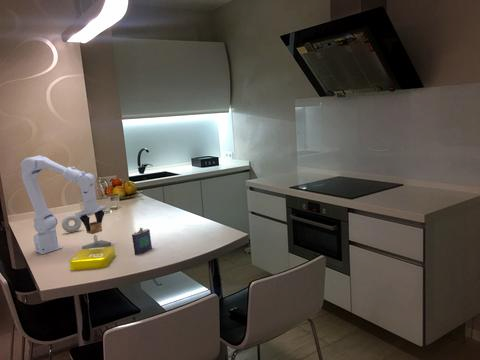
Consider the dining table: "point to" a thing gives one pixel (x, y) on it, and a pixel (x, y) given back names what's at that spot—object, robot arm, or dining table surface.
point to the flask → (141, 241)
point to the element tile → (92, 258)
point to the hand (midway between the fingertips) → (94, 229)
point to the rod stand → (97, 244)
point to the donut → (66, 221)
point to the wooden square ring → (95, 227)
